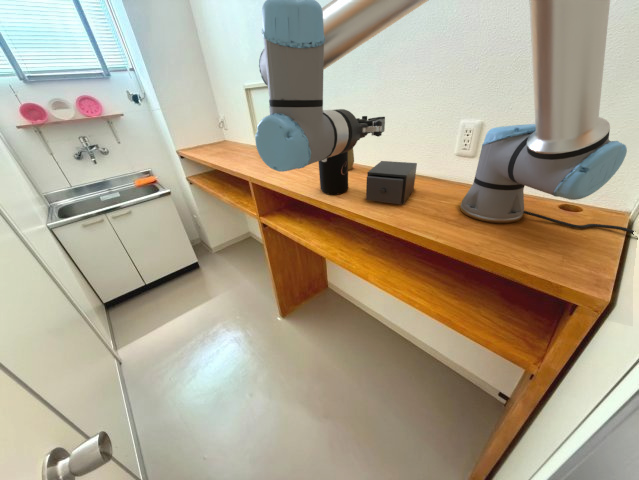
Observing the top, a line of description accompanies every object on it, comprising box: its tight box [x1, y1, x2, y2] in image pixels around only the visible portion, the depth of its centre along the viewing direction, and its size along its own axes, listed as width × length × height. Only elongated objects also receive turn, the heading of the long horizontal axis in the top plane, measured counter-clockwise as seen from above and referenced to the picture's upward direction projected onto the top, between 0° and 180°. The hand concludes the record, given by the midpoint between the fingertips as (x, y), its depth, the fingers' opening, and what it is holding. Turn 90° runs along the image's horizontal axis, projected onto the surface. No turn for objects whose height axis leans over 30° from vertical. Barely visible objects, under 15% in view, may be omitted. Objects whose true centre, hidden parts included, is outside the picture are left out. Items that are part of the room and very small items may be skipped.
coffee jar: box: [318, 151, 349, 196], centre depth 92 cm, size 11×11×18 cm
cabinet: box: [366, 160, 418, 205], centre depth 87 cm, size 15×13×10 cm
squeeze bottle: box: [348, 147, 355, 171], centre depth 116 cm, size 8×8×18 cm
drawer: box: [365, 175, 404, 205], centre depth 85 cm, size 15×11×8 cm
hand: (381, 122), depth 62 cm, fingers closed
